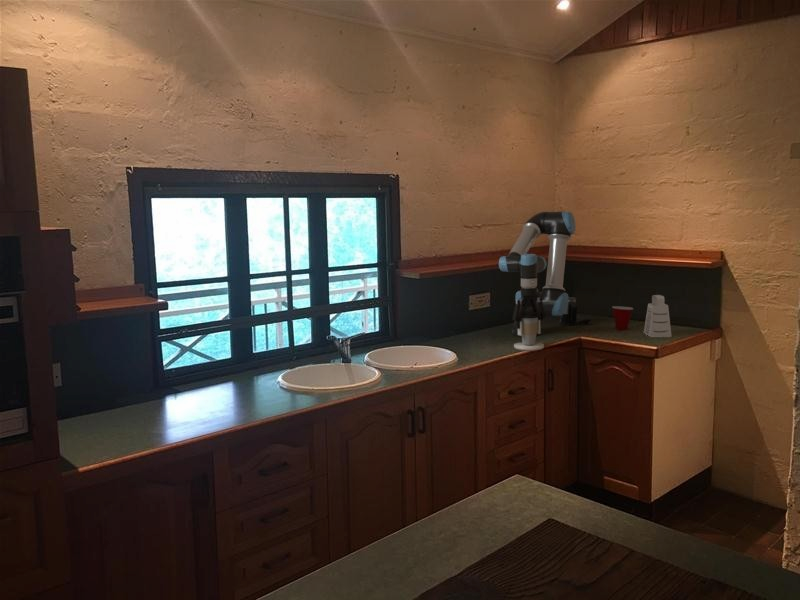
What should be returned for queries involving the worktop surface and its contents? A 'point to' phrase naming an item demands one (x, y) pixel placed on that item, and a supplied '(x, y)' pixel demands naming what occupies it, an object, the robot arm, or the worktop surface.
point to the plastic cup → (622, 316)
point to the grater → (657, 318)
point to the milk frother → (571, 314)
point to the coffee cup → (529, 327)
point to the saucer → (529, 346)
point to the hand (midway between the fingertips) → (529, 334)
